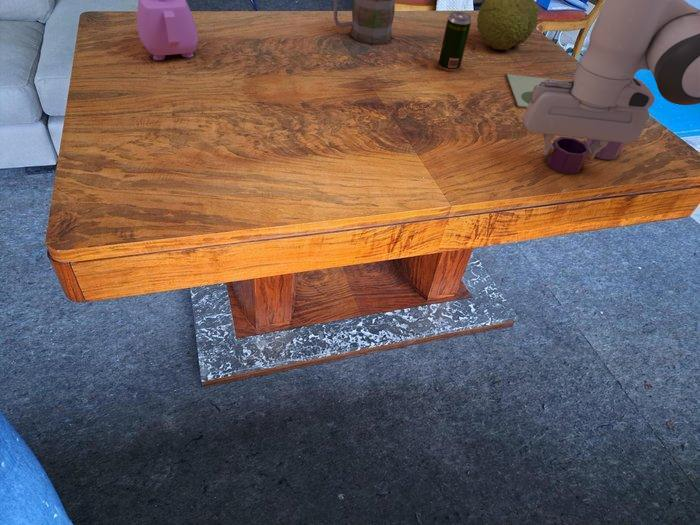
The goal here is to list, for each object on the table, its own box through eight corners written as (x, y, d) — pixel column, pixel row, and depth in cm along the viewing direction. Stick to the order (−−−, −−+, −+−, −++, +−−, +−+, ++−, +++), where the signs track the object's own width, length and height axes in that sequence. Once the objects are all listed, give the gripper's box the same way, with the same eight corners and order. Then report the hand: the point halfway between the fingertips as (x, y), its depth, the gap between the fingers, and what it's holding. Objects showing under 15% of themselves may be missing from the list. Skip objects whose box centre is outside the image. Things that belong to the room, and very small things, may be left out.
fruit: (528, 63, 129) (517, 7, 119) (476, 66, 138) (461, 14, 127) (549, 25, 135) (541, -31, 125) (498, 31, 144) (486, -22, 134)
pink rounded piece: (208, 65, 112) (201, 4, 104) (149, 71, 108) (136, 8, 99) (189, 31, 125) (181, -26, 116) (135, 35, 121) (123, -24, 112)
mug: (389, 30, 137) (396, -19, 129) (392, 46, 130) (399, -5, 121) (331, 25, 136) (334, -25, 128) (331, 41, 129) (334, -11, 120)
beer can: (463, 71, 122) (476, 19, 114) (443, 72, 121) (454, 19, 112) (454, 62, 126) (466, 10, 117) (434, 63, 124) (444, 11, 116)
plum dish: (575, 157, 98) (584, 138, 95) (584, 175, 94) (593, 156, 91) (543, 153, 98) (551, 135, 95) (550, 171, 94) (559, 153, 91)
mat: (588, 84, 123) (589, 82, 123) (608, 117, 111) (609, 115, 111) (506, 75, 123) (507, 73, 122) (517, 107, 111) (518, 104, 111)
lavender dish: (611, 144, 103) (620, 126, 100) (621, 161, 98) (630, 143, 96) (581, 141, 103) (589, 123, 100) (589, 157, 98) (598, 139, 96)
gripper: (541, 86, 83) (514, 159, 92) (665, 100, 83) (626, 171, 92) (533, 70, 87) (509, 140, 97) (651, 83, 87) (615, 152, 97)
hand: (567, 155), depth 95 cm, fingers closed on plum dish, 6 cm apart
